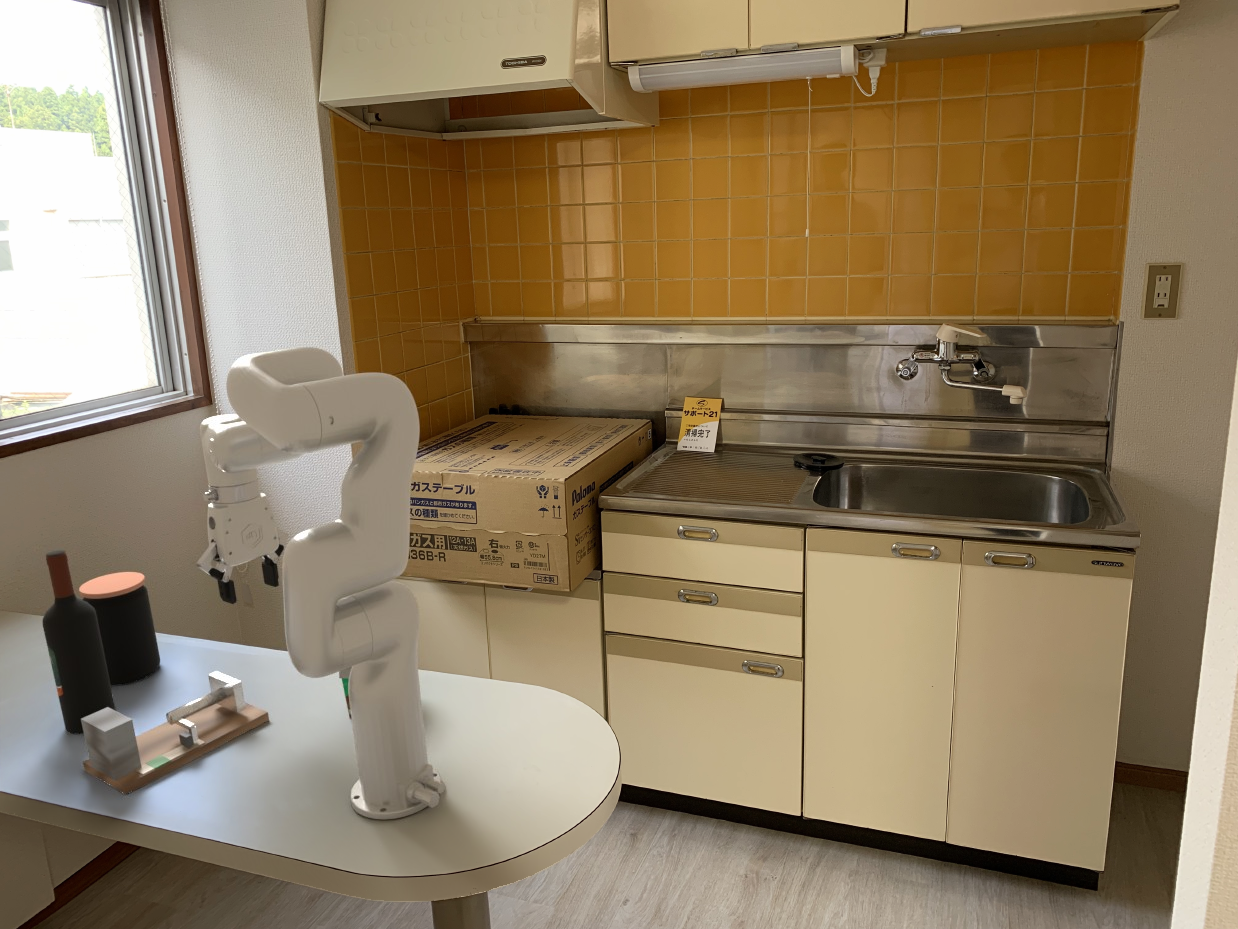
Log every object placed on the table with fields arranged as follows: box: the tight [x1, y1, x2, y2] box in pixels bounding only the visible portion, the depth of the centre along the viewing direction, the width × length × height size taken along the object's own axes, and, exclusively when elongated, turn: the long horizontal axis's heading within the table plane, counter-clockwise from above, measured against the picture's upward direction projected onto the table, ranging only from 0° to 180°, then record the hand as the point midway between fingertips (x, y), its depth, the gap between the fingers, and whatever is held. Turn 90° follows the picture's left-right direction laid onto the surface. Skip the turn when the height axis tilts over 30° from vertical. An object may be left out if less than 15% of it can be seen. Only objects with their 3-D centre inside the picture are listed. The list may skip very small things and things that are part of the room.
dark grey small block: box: [179, 731, 194, 748], centre depth 145 cm, size 2×1×2 cm, turn 55°
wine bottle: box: [42, 549, 117, 735], centre depth 153 cm, size 8×8×30 cm
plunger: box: [165, 670, 246, 742], centre depth 151 cm, size 8×11×5 cm
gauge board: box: [81, 702, 270, 795], centre depth 148 cm, size 12×24×10 cm, turn 145°
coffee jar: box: [78, 571, 161, 686], centre depth 172 cm, size 11×11×18 cm
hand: (251, 592), depth 156 cm, fingers open, 7 cm apart
